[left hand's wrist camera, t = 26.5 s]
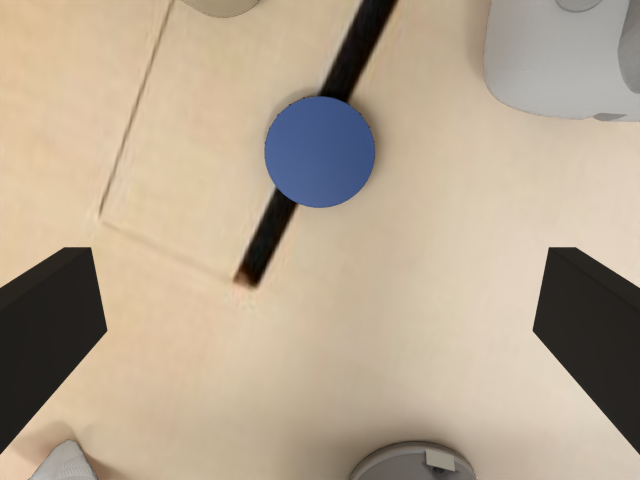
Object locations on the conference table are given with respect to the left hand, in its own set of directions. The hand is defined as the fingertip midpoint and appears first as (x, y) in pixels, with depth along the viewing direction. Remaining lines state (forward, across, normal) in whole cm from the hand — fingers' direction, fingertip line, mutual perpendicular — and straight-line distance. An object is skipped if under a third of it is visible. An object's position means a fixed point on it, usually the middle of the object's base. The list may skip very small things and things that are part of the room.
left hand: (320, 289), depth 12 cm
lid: (+25, 0, 0) cm, 25 cm away
